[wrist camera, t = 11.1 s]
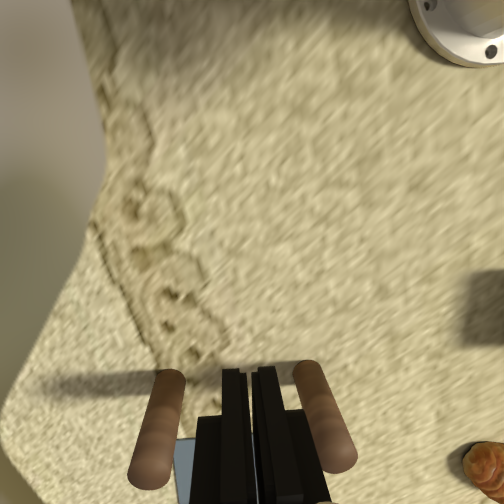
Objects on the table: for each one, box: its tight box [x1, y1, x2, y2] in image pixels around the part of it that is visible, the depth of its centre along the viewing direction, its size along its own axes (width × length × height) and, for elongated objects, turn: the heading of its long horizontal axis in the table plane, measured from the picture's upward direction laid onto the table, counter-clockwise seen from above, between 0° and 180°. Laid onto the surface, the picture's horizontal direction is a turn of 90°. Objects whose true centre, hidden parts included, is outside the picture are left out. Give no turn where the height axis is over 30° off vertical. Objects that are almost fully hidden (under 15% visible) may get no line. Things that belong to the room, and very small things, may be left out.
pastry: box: [462, 441, 504, 504], centre depth 36 cm, size 9×7×4 cm
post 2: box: [293, 360, 358, 474], centre depth 27 cm, size 3×3×9 cm
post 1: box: [127, 369, 186, 490], centre depth 26 cm, size 3×3×9 cm
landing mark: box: [173, 433, 259, 504], centre depth 35 cm, size 14×14×1 cm
